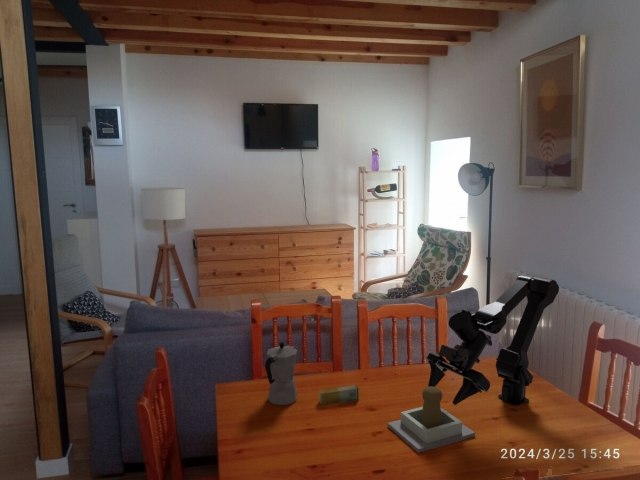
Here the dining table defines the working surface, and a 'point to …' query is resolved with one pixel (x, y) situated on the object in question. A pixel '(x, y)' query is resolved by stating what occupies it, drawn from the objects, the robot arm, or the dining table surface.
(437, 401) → the cork
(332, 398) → the medication box
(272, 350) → the coffeepot
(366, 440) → the dining table surface
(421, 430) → the socket stand
